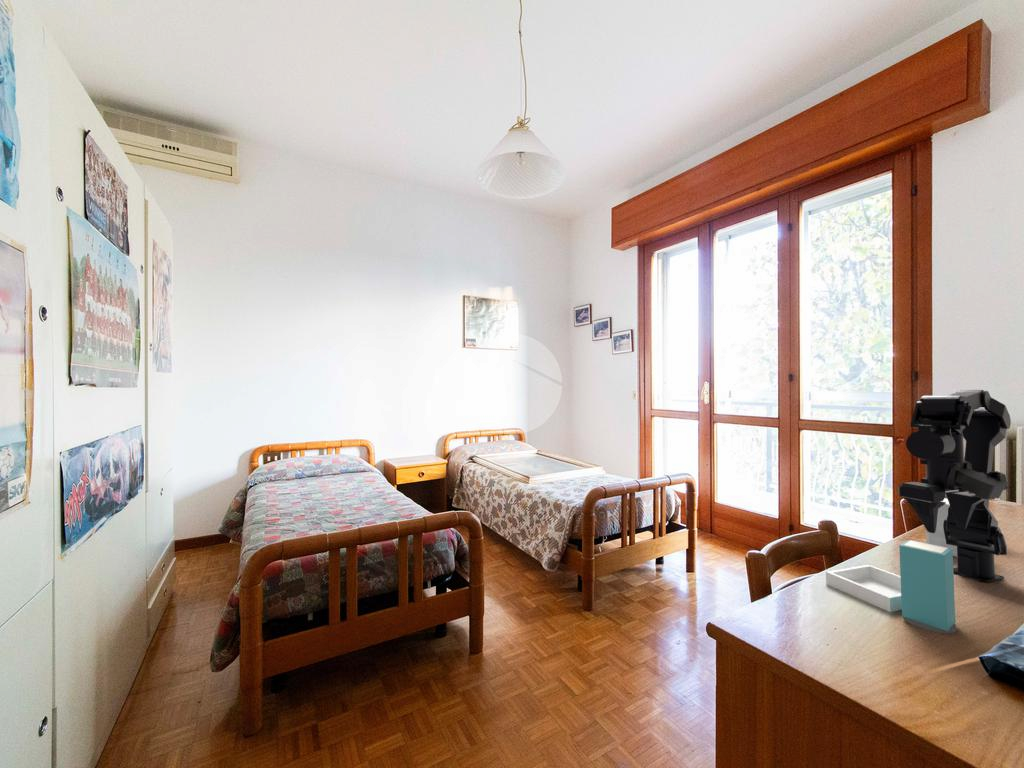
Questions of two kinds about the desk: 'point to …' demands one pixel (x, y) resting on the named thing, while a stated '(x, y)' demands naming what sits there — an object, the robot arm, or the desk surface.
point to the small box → (940, 529)
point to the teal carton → (927, 584)
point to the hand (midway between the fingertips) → (947, 530)
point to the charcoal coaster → (930, 628)
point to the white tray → (869, 585)
